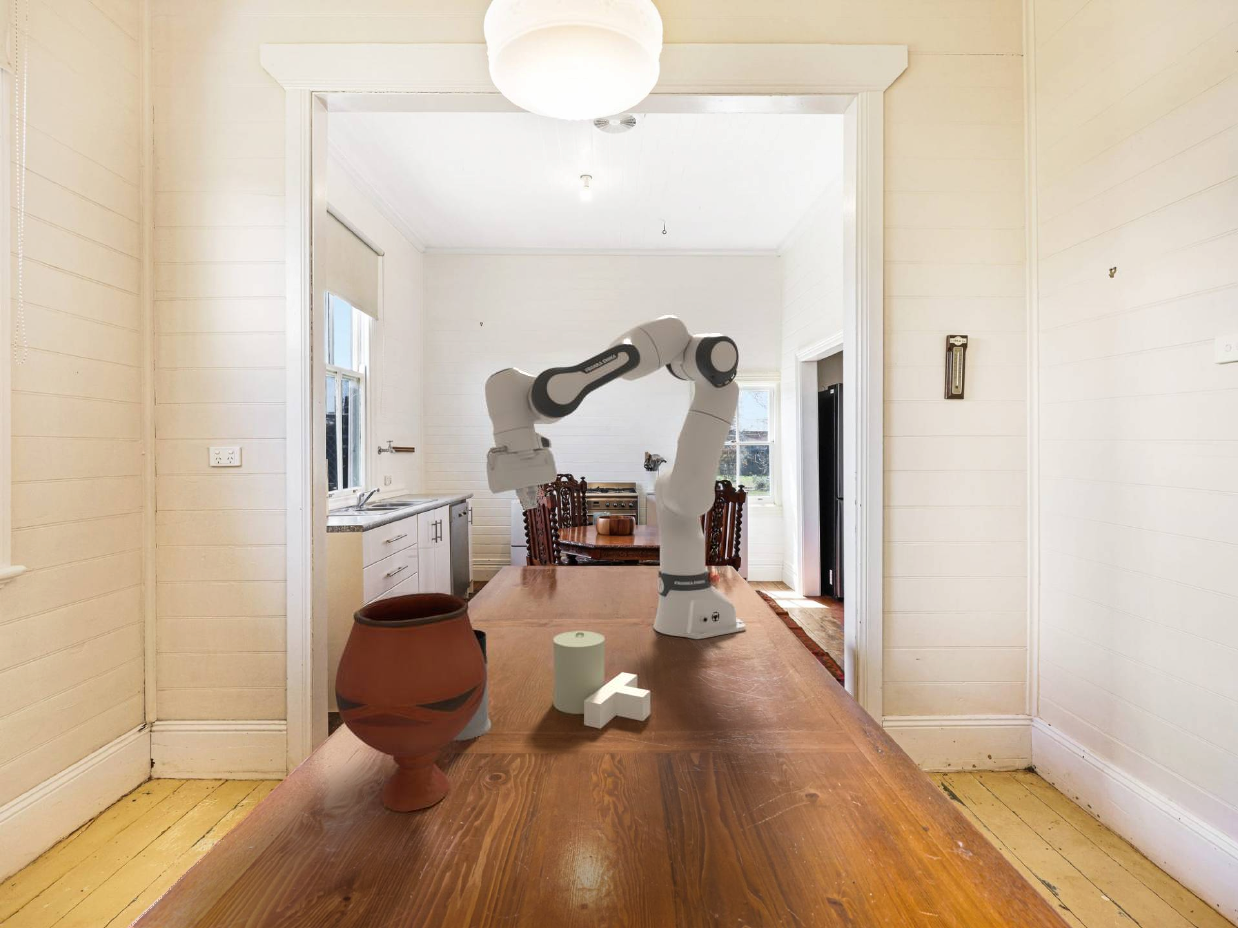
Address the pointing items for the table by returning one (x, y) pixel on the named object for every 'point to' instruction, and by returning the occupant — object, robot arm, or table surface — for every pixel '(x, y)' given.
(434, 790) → the goblet
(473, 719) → the glass holder
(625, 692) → the T stop
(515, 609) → the table surface
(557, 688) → the can
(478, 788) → the table surface
